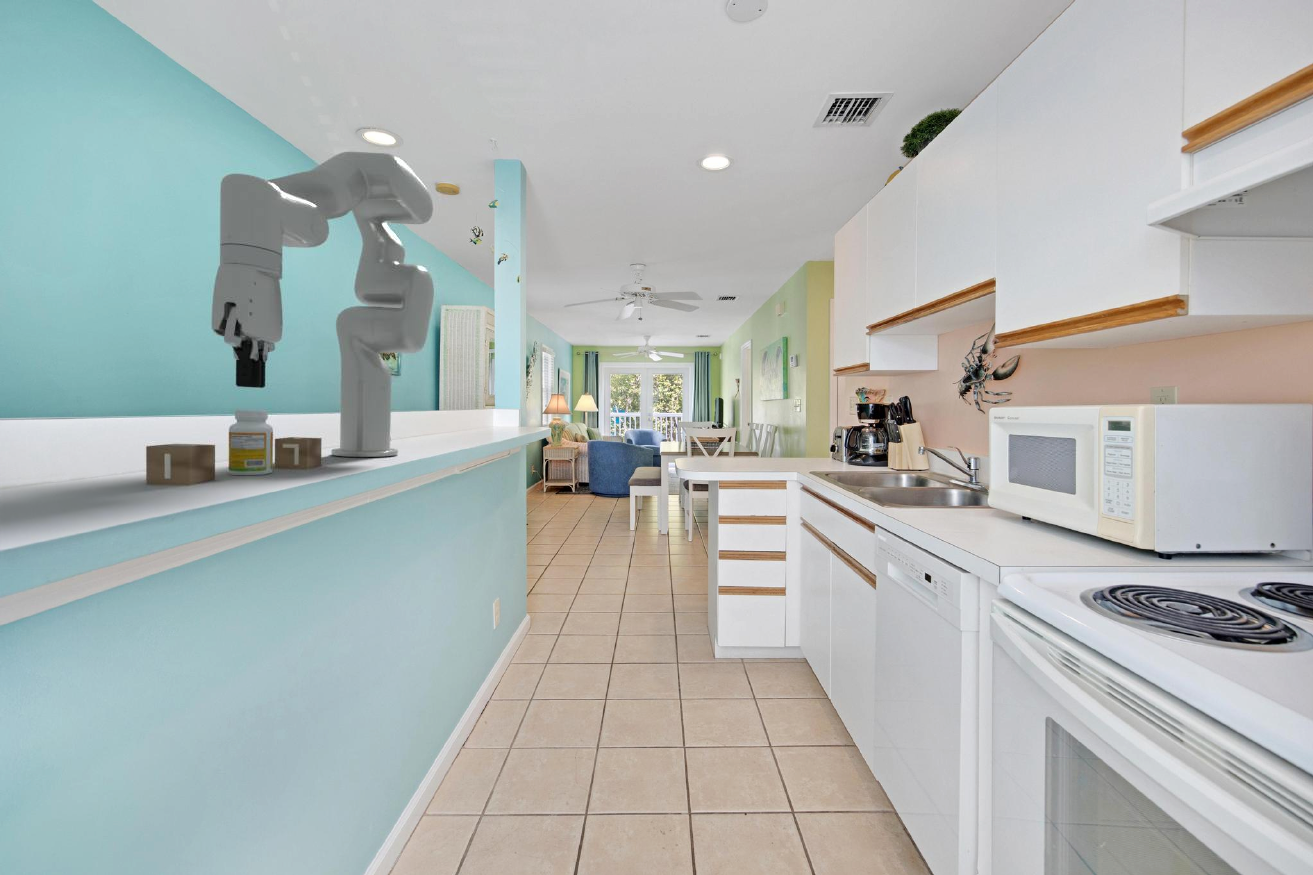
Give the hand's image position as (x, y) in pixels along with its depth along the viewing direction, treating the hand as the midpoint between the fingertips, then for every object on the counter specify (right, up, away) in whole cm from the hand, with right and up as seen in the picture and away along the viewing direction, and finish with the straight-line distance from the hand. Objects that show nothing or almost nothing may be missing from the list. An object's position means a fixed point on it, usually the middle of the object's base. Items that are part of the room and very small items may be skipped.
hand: (250, 386), depth 82 cm
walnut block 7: (0, -13, +11) cm, 17 cm away
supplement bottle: (-1, -13, +1) cm, 13 cm away
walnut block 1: (-2, -14, -10) cm, 17 cm away
